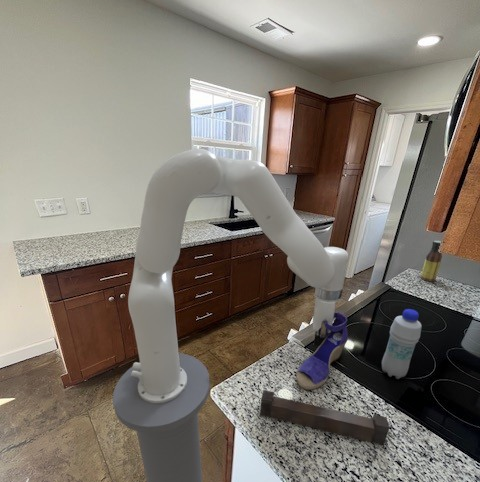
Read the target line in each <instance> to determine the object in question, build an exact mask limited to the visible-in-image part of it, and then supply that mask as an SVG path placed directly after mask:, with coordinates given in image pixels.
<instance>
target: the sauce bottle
mask: <svg viewBox="0 0 480 482" xmlns="http://www.w3.org/2000/svg"><path fill="white" fill-rule="evenodd" d="M441 241H442V240H433V241H432V245H431V247H430V248H431V249H430V251H429V252H428V254H427V255H426V256H425V260H424V264H423V266H422V269H421V275H420V279H421V280H423V281H425V282H431V283H433V282H435V281H436V278H437V276H438V274H439V269H440V266H441V262H442V258H443V254H442V252H441V253H439V252H438V249H439V246H440V243H441Z"/></svg>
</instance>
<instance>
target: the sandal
mask: <svg viewBox="0 0 480 482" xmlns="http://www.w3.org/2000/svg"><path fill="white" fill-rule="evenodd" d="M347 323H348V318H347V317H346V315H345V314H344V313H342V312H339V311H338V312H334V318H333V324H332V326H331V325H329V324H328V323H326V319H325V321H324V325H325V328H326V329H328V330H330V331H331V332H330V333H328V332H327V336H326V338H325V339H324V341H323V342H322V343H321V345H320V346H318V347H317V348H316V349H315V351H314V352H313V353H312V354H311V355H309V356H308V357H307V358H306V359H305V360H304V361H303V362H302V363H301V365H300V366H299V367H298V371H297V374H296V383H297V385H298V386H299V387H300V389H303V390H305V391H313V390H316V389H319V388H320V387H322V386H323V385H324V384H326V383H327V381H328V379H329V375H330V369H331V368H330V367H331V364H332V363H333V362H336V361H337V360H339V359H340V356H341V354H342V352H343V350H344V348H345V345H346V344H347V342H348V339H349V338H348V337H349V335H348V334H349V332H348V327H347Z"/></svg>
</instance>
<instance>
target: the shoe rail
mask: <svg viewBox="0 0 480 482" xmlns="http://www.w3.org/2000/svg"><path fill="white" fill-rule="evenodd" d="M260 416H263V417H267V418H272V419H275V420H280V421H284V422H288V423H291V424H295V425H296V424H297V425H300V426H304V427H308V428H312V429H317V430H320V431H325V432H328V433H333V434H337V435H341V436H344V437H348V438H353V439H356V440H361V441H365V442H369V443H374V444H377V445H380V446H384V445H385V442H386V440H387V436H388V433H389V431H390V425H389V421H388V417H386V416H383V415H379V414H373V415H372V417H368V416H362V415H359V414H355V413H349V412H345V411H341V410H336V409H332V408H327V407H324V406H318V405H314V404H310V403H306V402H301V401H297V400H292V399H288V398H283V397H279V396H275V392H274V391H270V390H266V389H263V390H262V393H261V398H260Z"/></svg>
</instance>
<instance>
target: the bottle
mask: <svg viewBox="0 0 480 482" xmlns="http://www.w3.org/2000/svg"><path fill="white" fill-rule="evenodd" d="M419 316H420V315H419V312H418V311H416V310H415V309H411V308H406V309H404V310H403V312H402V315H398V316H396V317H395V318H394V320H393V322H392V324H391V326H390V330H389V338H388V342H387V345H386V348H385V352H384V353H383V356H382V359H381V370H382V372H383V373H385V374H386V373H387V376H388V377H389V378H392V376H394V378H395V379H397V380H399V379H401V378H404V377H406V376H407V374H408V371H409V368H410V363H411V359H412V356H413V353H414V350H415V348H416V344H418V342H419V340H420V338H421V333H422V326H423V325H422V323H421V322H420V321H419Z"/></svg>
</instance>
